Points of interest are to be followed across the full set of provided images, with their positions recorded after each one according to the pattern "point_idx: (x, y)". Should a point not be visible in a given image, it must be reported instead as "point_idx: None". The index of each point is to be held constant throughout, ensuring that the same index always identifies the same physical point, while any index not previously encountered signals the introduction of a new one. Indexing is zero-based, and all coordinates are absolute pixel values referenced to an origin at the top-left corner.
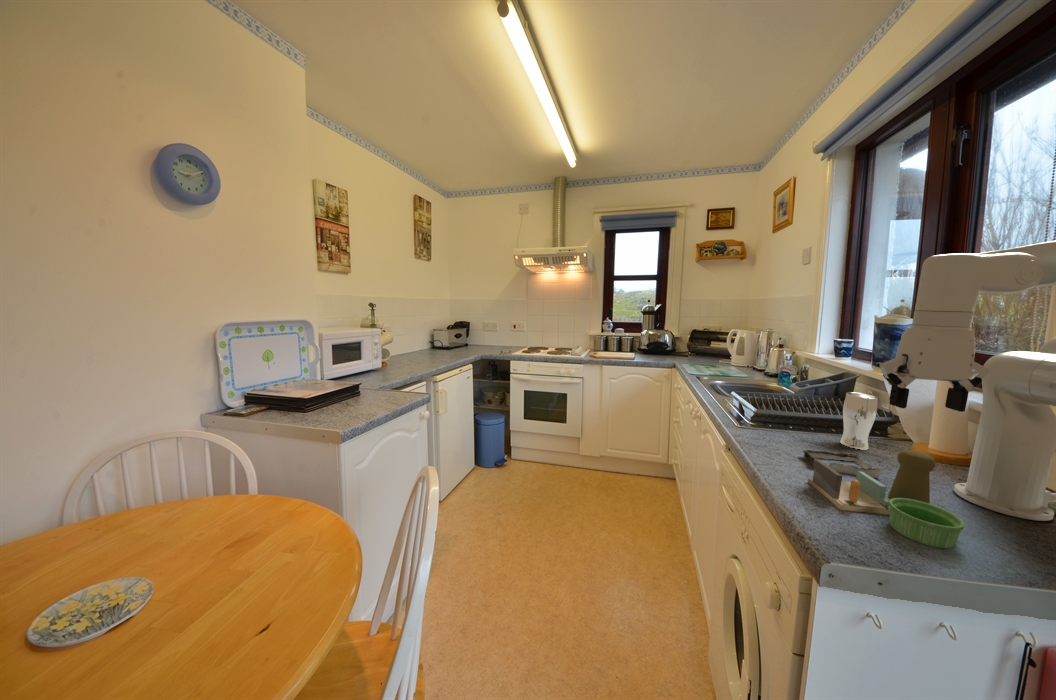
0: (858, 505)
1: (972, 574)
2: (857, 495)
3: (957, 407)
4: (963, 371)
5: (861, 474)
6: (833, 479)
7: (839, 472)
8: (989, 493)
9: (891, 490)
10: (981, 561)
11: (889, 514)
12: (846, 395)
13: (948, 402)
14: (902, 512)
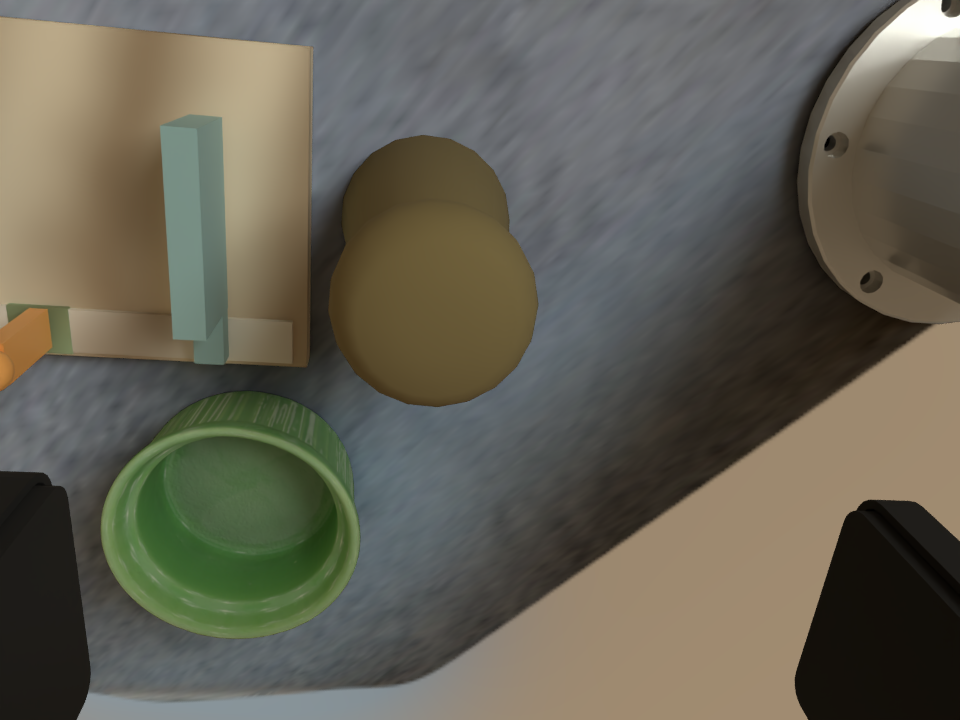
0: (59, 354)
1: (237, 666)
2: (28, 366)
3: (818, 694)
4: None
5: (164, 167)
6: None
7: None
8: (879, 219)
9: (351, 200)
10: (337, 603)
11: None
12: None
13: (886, 593)
14: (108, 564)
